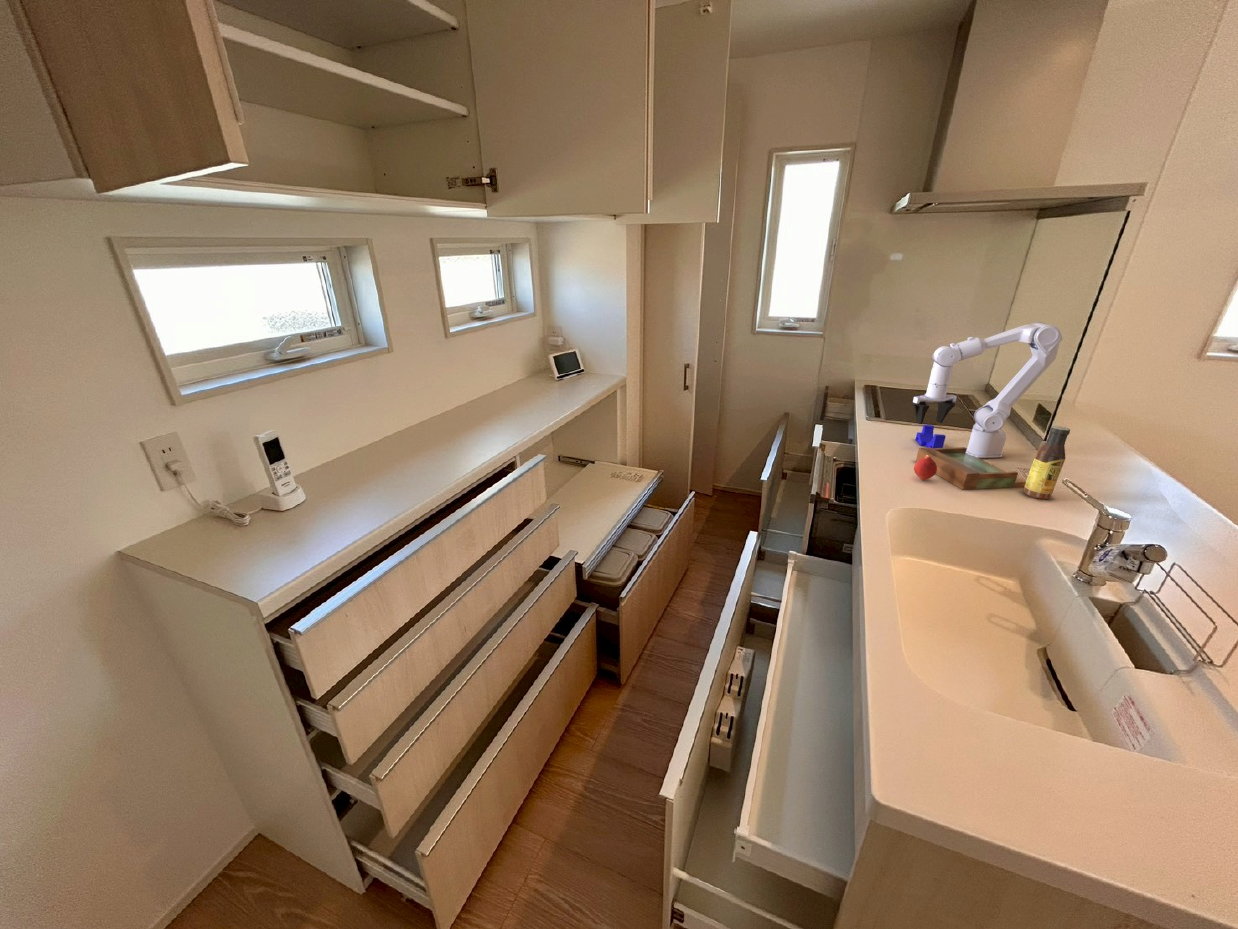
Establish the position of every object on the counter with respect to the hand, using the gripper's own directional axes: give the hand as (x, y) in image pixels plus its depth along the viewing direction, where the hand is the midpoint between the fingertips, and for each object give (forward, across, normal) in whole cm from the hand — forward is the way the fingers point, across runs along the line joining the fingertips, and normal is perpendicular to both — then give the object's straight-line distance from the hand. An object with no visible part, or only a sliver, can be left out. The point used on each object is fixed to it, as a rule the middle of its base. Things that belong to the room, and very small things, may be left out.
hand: (929, 422), depth 170 cm
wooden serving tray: (+10, +2, +22) cm, 24 cm away
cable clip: (+10, -3, -2) cm, 10 cm away
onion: (+10, +19, +24) cm, 32 cm away
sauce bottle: (+10, -5, +38) cm, 40 cm away
